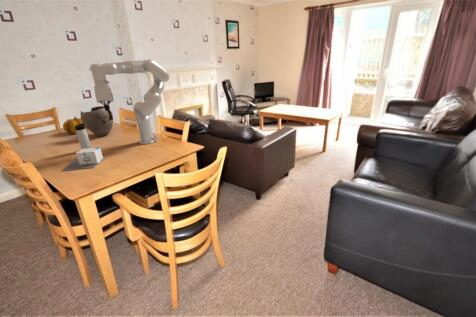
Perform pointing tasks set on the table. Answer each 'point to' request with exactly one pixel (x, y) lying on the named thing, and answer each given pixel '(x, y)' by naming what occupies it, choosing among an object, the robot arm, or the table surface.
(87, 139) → the travel mug
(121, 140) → the table surface
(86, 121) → the clay pot
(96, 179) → the table surface
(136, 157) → the table surface
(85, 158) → the ink box
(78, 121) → the decorative pumpkin
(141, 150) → the table surface
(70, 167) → the rubber mat
